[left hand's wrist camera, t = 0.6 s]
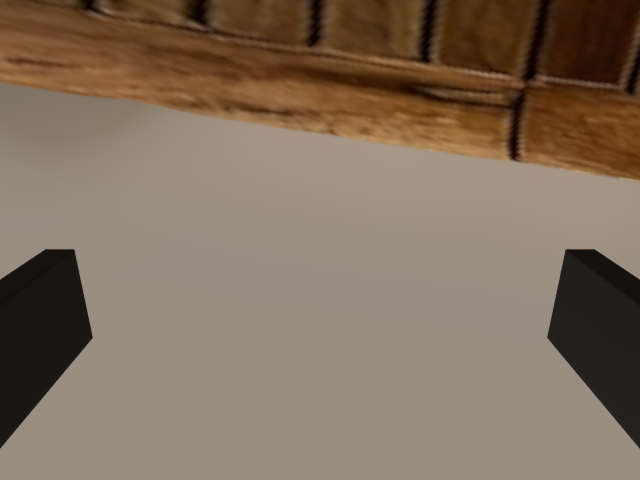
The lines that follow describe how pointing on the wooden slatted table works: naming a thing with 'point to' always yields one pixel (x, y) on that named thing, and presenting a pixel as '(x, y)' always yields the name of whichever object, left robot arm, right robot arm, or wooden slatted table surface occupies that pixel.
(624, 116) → the wooden slatted table surface
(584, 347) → the left robot arm
